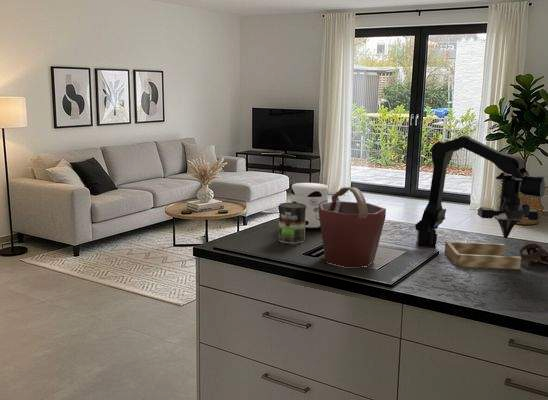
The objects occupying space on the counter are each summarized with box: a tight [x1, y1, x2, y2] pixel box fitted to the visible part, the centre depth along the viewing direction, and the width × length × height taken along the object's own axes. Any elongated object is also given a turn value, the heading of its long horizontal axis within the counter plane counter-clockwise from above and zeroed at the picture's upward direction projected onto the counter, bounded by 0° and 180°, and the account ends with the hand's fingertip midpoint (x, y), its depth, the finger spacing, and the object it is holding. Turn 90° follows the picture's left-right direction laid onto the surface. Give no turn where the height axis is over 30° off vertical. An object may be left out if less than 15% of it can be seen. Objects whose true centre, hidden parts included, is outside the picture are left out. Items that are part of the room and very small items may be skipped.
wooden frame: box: [444, 241, 522, 270], centre depth 191 cm, size 21×17×4 cm
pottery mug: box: [518, 242, 548, 264], centre depth 189 cm, size 12×10×8 cm
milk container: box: [290, 182, 329, 230], centre depth 232 cm, size 17×17×18 cm
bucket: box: [319, 186, 387, 267], centre depth 185 cm, size 24×22×25 cm
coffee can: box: [278, 202, 306, 244], centre depth 210 cm, size 10×10×14 cm
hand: (505, 238), depth 189 cm, fingers closed
